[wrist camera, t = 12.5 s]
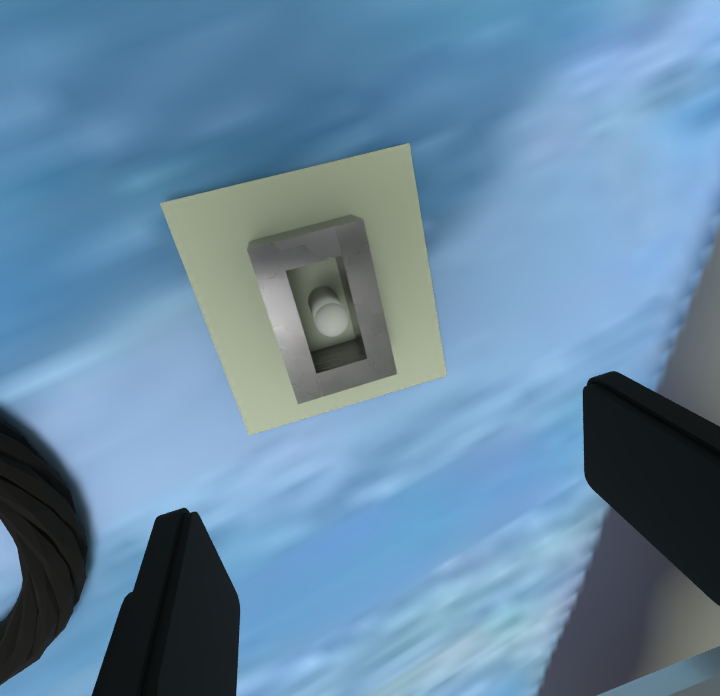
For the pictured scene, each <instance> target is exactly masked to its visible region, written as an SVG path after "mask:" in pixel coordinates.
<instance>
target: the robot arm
mask: <svg viewBox="0 0 720 696" xmlns="http://www.w3.org/2000/svg"><path fill="white" fill-rule="evenodd" d="M583 430H584V473H585V478H586V480H587V482H588V484H589V485H590V487H591V488H592V489H593V490H594V491H595V492H596V493H597V494H598V495H599V496H600V497H602V498H603V499H604V500H605V501H606V502H607V503H608V504H609V505H610V506H611V507H613V509H615V510H616V511H617V512H618V513H619V514H620V515H621V516H622V517H623V518H624V519H625V520H626V521H627V522H628V523H630V524H631V525H632V526H633V527H634V528H635V529H636V530H637V531H638V532H639V533H640V534H641V535H643V536H644V537H645V538H646V539H647V540H648V541H649V542H650V543H651V544H652V545H653V546H654V547H655V548H657V549H658V550H659V551H660V552H661V553H662V554H663V555H664V556H665V557H666V558H667V559H668V560H669V561H670V562H672V563H673V564H674V565H675V566H676V567H677V568H678V569H679V570H680V571H681V572H683V574H685V575H686V576H687V577H688V578H689V579H690V580H691V581H692V582H693V583H694V584H695V585H696V586H697V587H698V588H700V589H701V590H702V591H703V592H704V593H705V594H706V595H707V596H708V597H709V598H711V600H713V601H714V602H715V603H716V604H717V605H719V606H720V427H719V426H717V425H716V424H714V423H712V422H710V421H708V420H706V419H704V418H703V417H701V416H699V415H697V414H695V413H693V412H691V411H689V410H688V409H686V408H684V407H682V406H680V405H678V404H676V403H674V402H673V401H671V400H669V399H667V398H665V397H663V396H661V395H660V394H658V393H656V392H654V391H652V390H650V389H648V388H646V387H645V386H643V385H641V384H639V383H637V382H635V381H633V380H632V379H630V378H628V377H626V376H624V375H622V374H620V373H618V372H615V371H612V372H608V373H605V374H602V375H599V376H596V377H592V378H590V379H589V380H588V382H587V386H585V387H584V389H583ZM239 625H240V604H239V599H238V595H237V593H236V590H235V588H234V586H233V584H232V582H231V580H230V578H229V576H228V574H227V572H226V570H225V568H224V566H223V563H222V561H221V559H220V557H219V555H218V553H217V551H216V549H215V547H214V545H213V543H212V541H211V539H210V537H209V534H208V532H207V530H206V528H205V526H204V524H203V522H202V520H201V518H200V516H199V514H198V513H197V512H191V513H190V512H189V511H188V510H187V509H186V508H182V509H179V510H175V511H172V512H169V513H166V514H163V515H160V516H158V517H157V518H156V520H155V522H154V526H153V529H152V532H151V535H150V538H149V542H148V545H147V548H146V551H145V554H144V558H143V561H142V564H141V567H140V570H139V574H138V577H137V580H136V583H135V586H134V590H133V592H130V593H129V594H128V595H127V596H126V597H125V599H124V601H123V603H122V605H121V608H120V611H119V614H118V617H117V620H116V624H115V627H114V630H113V633H112V636H111V639H110V642H109V645H108V648H107V651H106V654H105V657H104V660H103V663H102V666H101V669H100V672H99V675H98V678H97V681H96V684H95V687H94V690H93V693H92V696H236V687H237V667H238V646H239ZM598 696H720V646H719V647H716V648H714V649H711V650H709V651H706V652H704V653H701V654H699V655H696V656H694V657H692V658H689V659H686V660H684V661H681V662H679V663H677V664H674V665H671V666H669V667H666V668H664V669H662V670H659V671H657V672H654V673H652V674H649V675H647V676H644V677H642V678H640V679H637V680H634V681H632V682H629V683H627V684H625V685H622V686H620V687H617V688H615V689H612V690H610V691H608V692H605V693H602V694H600V695H598Z"/></svg>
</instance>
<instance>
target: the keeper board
mask: <svg viewBox="0 0 720 696" xmlns="http://www.w3.org/2000/svg"><path fill="white" fill-rule="evenodd" d="M160 205H161V208H162V210H163V213H164V215H165V218H166V221H167V223H168V226H169V228H170V231H171V234H172V236H173V239H174V241H175V244H176V247H177V249H178V252H179V254H180V257H181V260H182V262H183V265H184V268H185V270H186V273H187V275H188V278H189V281H190V283H191V286H192V288H193V291H194V294H195V296H196V299H197V301H198V304H199V307H200V309H201V312H202V314H203V317H204V320H205V322H206V325H207V327H208V330H209V333H210V335H211V338H212V340H213V343H214V346H215V348H216V351H217V353H218V356H219V359H220V361H221V364H222V366H223V369H224V372H225V374H226V377H227V379H228V382H229V385H230V387H231V390H232V393H233V395H234V398H235V400H236V403H237V406H238V408H239V411H240V413H241V416H242V419H243V421H244V424H245V426H246V429H247V432H248V434H249V435H252V434H255V433H259V432H262V431H265V430H269V429H272V428H275V427H279V426H282V425H285V424H288V423H292V422H295V421H298V420H302V419H305V418H308V417H312V416H315V415H318V414H322V413H325V412H328V411H332V410H335V409H338V408H341V407H345V406H348V405H351V404H355V403H358V402H361V401H365V400H368V399H371V398H375V397H378V396H381V395H385V394H388V393H391V392H394V391H398V390H401V389H404V388H408V387H411V386H414V385H418V384H421V383H424V382H428V381H431V380H434V379H438V378H441V377H444V376H447V373H446V367H445V360H444V354H443V348H442V342H441V336H440V330H439V323H438V317H437V311H436V305H435V299H434V292H433V286H432V280H431V274H430V268H429V262H428V255H427V249H426V243H425V237H424V231H423V224H422V218H421V212H420V206H419V200H418V194H417V187H416V181H415V175H414V169H413V163H412V157H411V150H410V144H409V143H407V144H403V145H399V146H394V147H390V148H386V149H382V150H378V151H374V152H370V153H365V154H361V155H357V156H353V157H349V158H345V159H341V160H336V161H332V162H328V163H324V164H320V165H316V166H312V167H307V168H303V169H299V170H295V171H291V172H287V173H283V174H278V175H274V176H270V177H266V178H262V179H258V180H253V181H249V182H245V183H241V184H237V185H233V186H229V187H224V188H220V189H216V190H212V191H208V192H204V193H200V194H195V195H191V196H187V197H183V198H179V199H175V200H171V201H166V202H162V203H160ZM350 214H351V215H354V216H357V217H360V218H362V219H363V220H364V224H365V229H366V233H367V238H368V242H369V247H370V252H371V256H372V261H373V265H374V270H375V274H376V279H377V283H378V288H379V293H380V297H381V302H382V306H383V311H384V315H385V320H386V325H387V329H388V334H389V338H390V343H391V347H392V352H393V356H394V361H395V366H396V370H397V374H396V375H393V376H390V377H386V378H383V379H380V380H376V381H373V382H370V383H367V384H363V385H360V386H357V387H353V388H350V389H347V390H344V391H340V392H337V393H334V394H331V395H327V396H324V397H321V398H317V399H314V400H311V401H308V402H304V403H301V404H298V403H297V400H296V397H295V394H294V391H293V388H292V385H291V382H290V379H289V375H288V372H287V369H286V366H285V363H284V360H283V357H282V354H281V351H280V348H279V345H278V342H277V339H276V336H275V333H274V330H273V327H272V324H271V321H270V318H269V315H268V312H267V309H266V306H265V303H264V300H263V297H262V294H261V291H260V288H259V284H258V281H257V278H256V275H255V272H254V269H253V266H252V263H251V260H250V257H249V254H248V251H247V248H248V244H249V241H252V240H255V239H259V238H263V237H267V236H271V235H274V234H278V233H282V232H286V231H290V230H293V229H297V228H301V227H305V226H309V225H312V224H316V223H320V222H324V221H328V220H331V219H335V218H339V217H343V216H347V215H350ZM286 272H287V275H288V278H289V282H290V285H291V288H292V292H293V295H294V298H295V302H296V305H297V308H298V312H299V315H300V318H301V322H302V325H303V328H304V332H305V335H306V338H307V342H308V345H309V348H310V352H312V351H315V350H319V349H322V348H326V347H329V346H332V345H336V344H339V343H343V342H346V341H349V340H353V339H356V338H355V334H354V330H353V326H352V322H351V318H350V314H349V310H348V306H347V302H346V298H345V294H344V290H343V286H342V282H341V278H340V274H339V271H338V267H337V263H336V259H335V258H331V259H328V260H324V261H320V262H317V263H313V264H309V265H306V266H302V267H298V268H295V269H291V270H287V271H286Z"/></svg>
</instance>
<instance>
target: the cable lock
mask: <svg viewBox="0 0 720 696" xmlns="http://www.w3.org/2000/svg"><path fill="white" fill-rule="evenodd" d="M0 519H1V521H2V522H3V524H4V525H5V527H6V528H7V530H8V531H9V533H10V535H11V536H12V538H13V539H14V542H15V544H16V546H17V549H18V554H19V560H20V566H21V571H22V577H23V582H22V588H21V592H20V594H19V597H18V599H17V602H16V604H15V606H14V607H13V609H12V611H11V612H10V614H9V615H8V617H7V619H6V620H5V621H4V622H3V623H2V624H1V625H0V685H1V684H3V683H4V682H6V681H7V680H8V679H10V678H11V677H13V676H15V675H16V674H18V673H19V672H21V671H22V670H24V669H25V668H27V667H28V666H30V665H31V664H33V663H34V662H36V661H37V660H38V659H40V657H41V656H42V654H43V652H44V651H45V649H46V648H47V647H48V646H49V645H50V644H51V643H52V641H53V640H54V639H55V638H56V637H57V636H58V635H59V634H60V633H61V632H62V631H63V630H64V629H65V627H66V625H67V623H68V621H69V619H70V617H71V615H72V613H73V607H74V606H75V605H76V603H77V602H78V601H79V598H80V595H81V592H82V588H83V585H84V582H85V579H86V575H85V569H84V568H85V562H86V554H87V543H86V537H85V531H84V528H83V526H82V525H81V523H80V521H79V520H78V518H77V516H76V512H75V508H74V505H73V501H72V497H71V494H70V491H69V490H68V488H67V486H66V485H65V483H64V482H63V480H62V479H61V477H60V475H59V474H58V473H57V472H56V471H54V470H53V469H52V468H51V467H49V466H48V464H47V463H46V462H45V461H44V460H43V458H42V457H41V456H40V455H39V454H38V453H37V451H36V450H35V449H34V448H33V447H32V445H31V444H30V443H29V442H28V441H27V440H26V438H25V437H24V436H22V435H21V434H20V433H18V432H17V431H16V430H15V429H13V428H12V427H11V426H9V425H8V424H7V423H6V422H4V421H2V420H0Z"/></svg>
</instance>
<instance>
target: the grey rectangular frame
mask: <svg viewBox="0 0 720 696" xmlns="http://www.w3.org/2000/svg"><path fill="white" fill-rule="evenodd" d="M247 251H248V254H249V257H250V260H251V263H252V266H253V269H254V272H255V275H256V278H257V281H258V284H259V288H260V291H261V294H262V297H263V300H264V303H265V306H266V309H267V312H268V315H269V318H270V321H271V324H272V327H273V330H274V333H275V336H276V339H277V342H278V345H279V348H280V351H281V354H282V357H283V360H284V363H285V366H286V369H287V372H288V375H289V379H290V382H291V385H292V388H293V391H294V394H295V397H296V400H297V403H298V404H301V403H304V402H308V401H311V400H314V399H317V398H321V397H324V396H327V395H331V394H334V393H337V392H340V391H344V390H347V389H350V388H353V387H357V386H360V385H363V384H367V383H370V382H373V381H376V380H380V379H383V378H386V377H390V376H393V375H396V374H397V370H396V366H395V361H394V356H393V352H392V347H391V343H390V338H389V334H388V329H387V325H386V320H385V315H384V311H383V306H382V302H381V297H380V293H379V288H378V283H377V279H376V274H375V270H374V265H373V261H372V256H371V252H370V247H369V242H368V238H367V233H366V229H365V224H364V220H363V219H362V218H360V217H357V216H354V215H351V214H350V215H347V216H343V217H339V218H335V219H331V220H328V221H324V222H320V223H316V224H312V225H309V226H305V227H301V228H297V229H293V230H290V231H286V232H282V233H278V234H274V235H271V236H267V237H263V238H259V239H255V240H252V241H249V244H248V248H247ZM331 258H335V259H336V263H337V267H338V271H339V274H340V278H341V282H342V286H343V290H344V294H345V298H346V302H347V306H348V310H349V314H350V318H351V322H352V326H353V330H354V334H355V338H356V339H353V340H349V341H346V342H343V343H339V344H336V345H332V346H329V347H326V348H322V349H319V350H315V351H312V352H310V348H309V345H308V342H307V338H306V335H305V332H304V328H303V325H302V322H301V318H300V315H299V312H298V308H297V305H296V302H295V298H294V295H293V292H292V288H291V285H290V282H289V278H288V275H287V272H286V271H287V270H291V269H295V268H298V267H302V266H306V265H309V264H313V263H317V262H320V261H324V260H328V259H331Z"/></svg>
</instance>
